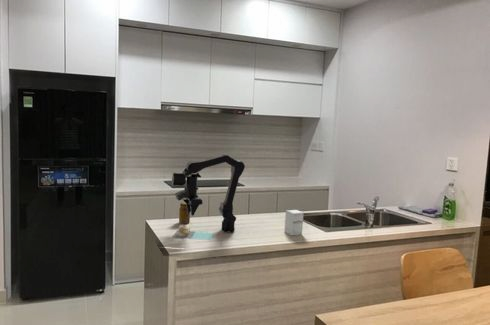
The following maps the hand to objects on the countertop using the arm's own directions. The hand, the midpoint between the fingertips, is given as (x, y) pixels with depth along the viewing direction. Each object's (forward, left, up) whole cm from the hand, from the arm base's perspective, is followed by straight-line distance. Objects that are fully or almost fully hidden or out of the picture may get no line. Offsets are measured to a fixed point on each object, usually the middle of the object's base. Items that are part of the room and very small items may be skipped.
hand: (190, 214), depth 208 cm
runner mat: (-3, +6, -10) cm, 12 cm away
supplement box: (-56, -11, -10) cm, 58 cm away
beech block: (+2, +6, -9) cm, 11 cm away
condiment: (+6, -15, -10) cm, 19 cm away
